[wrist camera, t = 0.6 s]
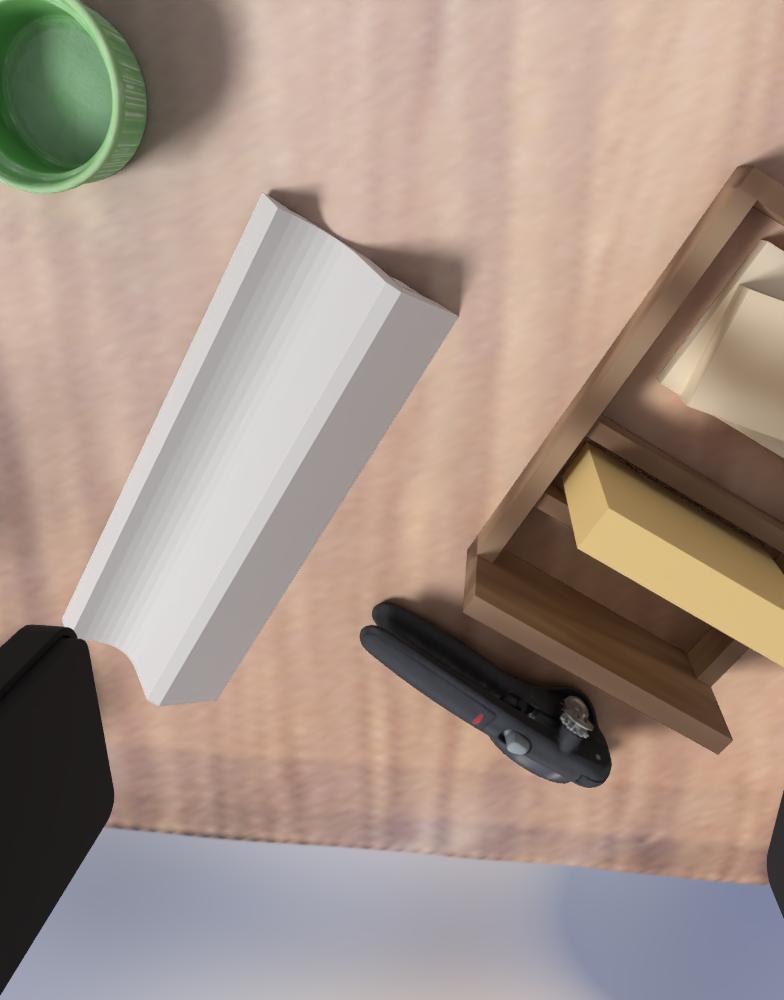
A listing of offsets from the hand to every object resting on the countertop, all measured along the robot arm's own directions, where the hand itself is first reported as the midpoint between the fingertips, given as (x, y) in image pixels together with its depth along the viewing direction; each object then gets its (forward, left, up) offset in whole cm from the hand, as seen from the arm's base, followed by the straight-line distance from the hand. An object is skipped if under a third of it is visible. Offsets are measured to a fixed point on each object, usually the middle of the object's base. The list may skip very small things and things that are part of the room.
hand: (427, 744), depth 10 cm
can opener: (+19, +12, -33) cm, 40 cm away
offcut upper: (-6, +14, -31) cm, 35 cm away
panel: (+4, +15, -32) cm, 36 cm away
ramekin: (+1, -23, -33) cm, 40 cm away
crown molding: (+16, -7, -33) cm, 38 cm away
